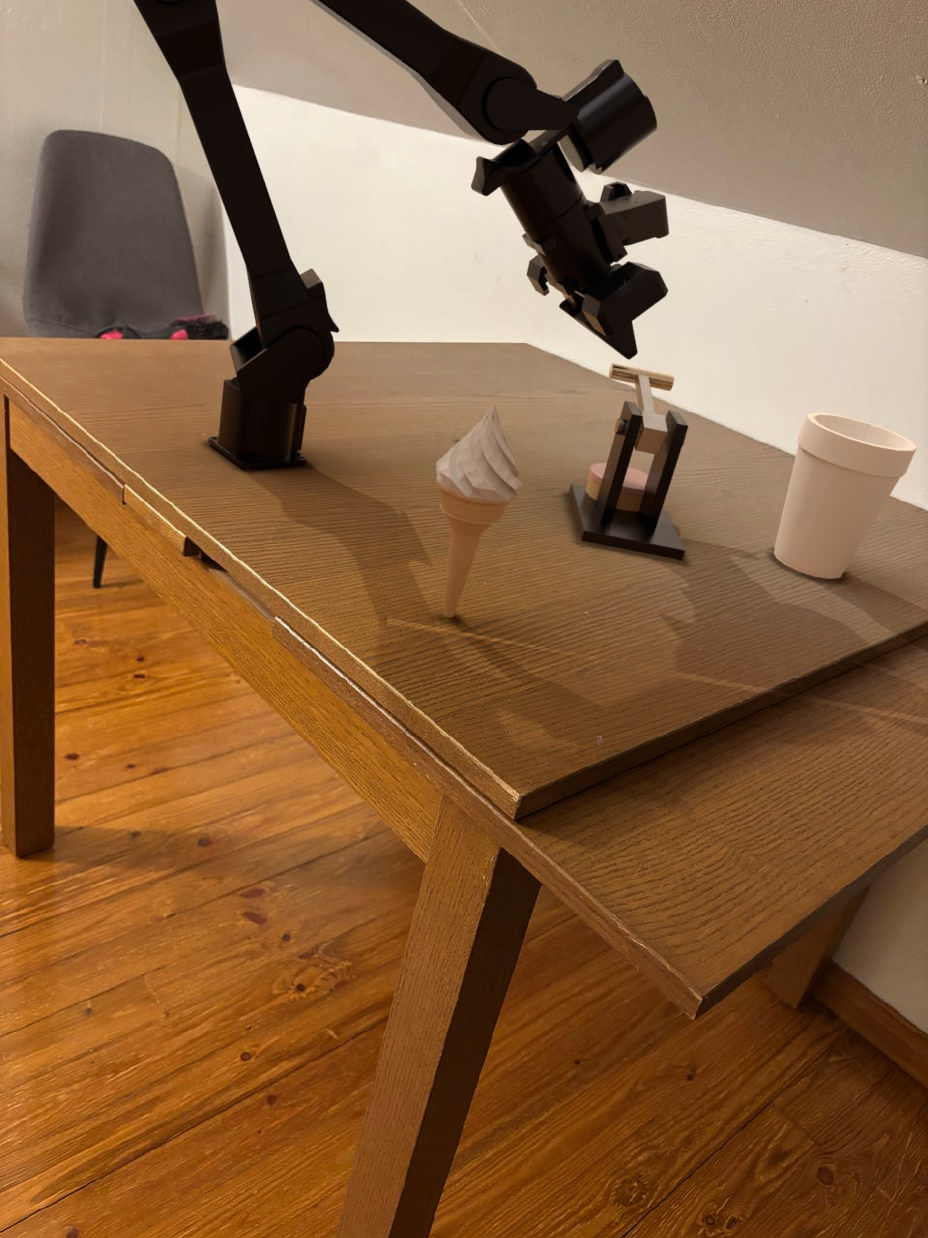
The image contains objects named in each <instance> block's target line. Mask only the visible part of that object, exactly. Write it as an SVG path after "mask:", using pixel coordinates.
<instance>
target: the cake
mask: <svg viewBox="0 0 928 1238" xmlns="http://www.w3.org/2000/svg"><path fill="white" fill-rule="evenodd" d="M606 464H607V462H598V463H597V462H596V463H593V464H592V465H590V469H589V472H588V475H589V476H588V479H587V483H586V485H585V486H586V492H587V494H588V495H589V496H590V497H592V498H593V499H595V500H596V499H597V496H598V492H599V489H600V485H601V482H602V478H603V475H604V471H605V468H606ZM648 475H649V473H646V472H644V471H641V470H639V469H637V468H634V467H630V466H628V469H627V473H626V476H625V479H624V483H623V486H622V490H621V493H620V496H619V500H618V503H617V506H616V508H618V509H622V510H627V511H639V508H640V505H641V501H642V498H643V496H644V493H645V484H646V481H647V478H648Z"/></svg>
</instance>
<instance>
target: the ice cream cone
mask: <svg viewBox="0 0 928 1238" xmlns="http://www.w3.org/2000/svg"><path fill="white" fill-rule="evenodd" d="M496 406H497V405H496V403H494V404H493V405H492V406H491V408H490V409H489V410H488V411H487V413H486V414H485V415H484V416H483V417H482V418H481V420H480V421H478V423H477V424H476V425H475V426H474V427H473V428H472V429H471V430H470V431H469V432H468V433H466V434H465V435H464V436H462V438H461V439H460V440H459V441H458V442H457V443H455V444H454V445H453V446H452V447H451V448H450V449H449V450H448V451H447V452H446V453H445V454H443V456H441V458H439V459H438V460H436V461H435V469H436V470H435V471H436V478H435V483H436V484H437V486H438V487H439V489H438V492H439V499H440V504H439V508H440V510H441V511H442V512H443V513H444V515H445V516H446V518H447V520H448V522H449V524H450V527H451V531H450V532H451V533H450V538H449V549H448V556H447V571H446V583H445V595H444V605H443V615H444V616H445V618H448V619H451V618H453V617H454V616H455V614H456V612H457V608H458V605H459V602H460V599H461V596H462V593H463V591H464V589H465V585H466V582H467V578H468V576H469V573H470V570H471V568H472V565H473V563H474V560H475V556H476V553H477V550H478V547H479V543H480V540H481V536H482V534H483V533H484V532H485V531H487V530H488V528H490V527H491V526H493V525H494V524H497V523H499V522H501V521H502V516H503V515H504V514H505V511H506V509H507V508H508V507H509V505H510V503H511V502H512V501H514V500H516V498H517V497H518V495H519V493H520V491H521V489H522V487H523V483H522V482H521V481H520V480H519V479H518V478H517V477H519V476H520V471H519V469H518V467H517V464H516V461H515V459H514V456H513V454H512V452H511V451H510V449H509V445H508V442H507V439H506V436H505V434H504V431H503V429H502V425H501V421H500V418H499V414H498V411H497V407H496Z"/></svg>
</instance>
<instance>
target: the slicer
mask: <svg viewBox="0 0 928 1238" xmlns="http://www.w3.org/2000/svg"><path fill="white" fill-rule="evenodd" d="M665 418H666V424H667V429H668V434H667V436H666V439H665V441H664V444H663V446H662V449H661V452H660V454H659V455H656V454H653V458H652V462H651V465H650V468H649V471H648V478H647V481H646V484H645V493H644V496H643V498H642V501H641V505H640V508H639V511H627V510H622V509H618V508H616V506H617V503H618V500H619V496H620V493H621V490H622V486H623V483H624V479H625V476H626V473H627V469H628V467H630V463H631V459H632V456H633V453H634V450H635V442H636V439H637V436H638V432H639V429H640V426H641V422H642V419H643V416H642V414H641V412H640V410H639V408H638V404H636V402H634V401H629V400H624V402H623V404H622V409H621V412H620V415H619V417H618V418H617V420H616V423H615V426H614V437H613V440H612V443H611V446H610V451H609V455H608V456H607V457H608V458H607V461H606V463H607V464H606V468H605V471H604V475H603V478H602V482H601V485H600V489H599V492H598V496H597V499H596V500H595V499H593V498H592V497H590V496H589V495H588V494H587V492H586V486H587V485H581V484H577V483H576V484H575V483H570V486H569V490H568V496H569V499H570V503H571V507H572V510H573V515H574V518H575V523H576V527H577V529H578V535H579V538H580V541H581V542H586V543H592V544H596V545H600V546H601V545H602V546H607V547H612V548H617V549H622V550H627V551H632V552H637V553H641V554H648V555H652V556H657V557H662V558H666V559H667V558H668V559H673V560H677V561H678V560H679V561H683V559H684V556H685V553H686V549H685V547H684V544H683V543H682V541H681V538H680V537H679V534H678V533H677V531H676V528H675V526H674V525H673V523H672V520H671V518H670V517H669V514H668V513H667V510H666V508H665V506H664V504H665V502H666V499H667V496H668V492H669V489H670V486H671V484H672V483H671V482H672V480H673V476H674V473H675V471H676V467H677V464H678V461H679V457H680V454H681V451H682V448H683V447H684V445H685V442H686V439H687V438H686V437H687V433H688V429H689V425H688V423H687V422H686V420H685V419H684V417H683V416H682V414H681V413H680V412H679V411H675V410H672V409H668V410H667V413H666V415H665Z"/></svg>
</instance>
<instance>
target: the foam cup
mask: <svg viewBox="0 0 928 1238" xmlns="http://www.w3.org/2000/svg"><path fill="white" fill-rule="evenodd" d="M798 434H799V435H798V437H797V440H796V442H797V443H798V445H797V449H796V454H795V458H794V462H793V466H792V470H791V474H790V479H789V484H788V488H787V491H786V497H785V501H784V505H783V511H782V513H781V518H780V522H779V526H778V531H777V534H776V535H777V536H776V538H775V544H774V547H773V549H774V550H773V554H774V556H775V557H776V559H777V560H778V561H779V562H781V563H782V564H783V565H785V566H786V567H788V568H791V569H793V570H795V571H796V572H799V573H803V574H805V575H809V576H812V577H814V578H820V579H821V578H822V579H828V580H830V579H841V578H842V576H843V574H844V572H845V571H846V570H847V568H848V566H849V565H850V563H851V561H852V559H854V556H855V554H856V553H857V551H858V550H859V548H860V546H861V545H862V543H863V541H864V540H865V537H866V536H867V535H868V533H869V531H870V529H871V528H872V526H873V524H875V521H876V519H877V518H878V516H879V514H880V513H881V511H882V509H883V507H884V506H885V505H886V503H887V501H888V500H889V498H890V496H891V494H892V493H893V491H894V489H895V488H896V486H897V484H898V482H899V481H900V479H901V478H902V477H903V476H904V475H905V474H906V473H907V471H908V469H909V467H910V464H911V463H912V459H913V457H914V455H915V453H916V451H917V448H918V446H917V445H916V444H915V443H914V442H913V441H912V440H911V439H909V438H907V437H905V436H903V435H901V434H899V433H897V432H895V431H893V430H890V429H887V428H885V427H882V426H880V425H876V424H874V423H871V422H868V421H864V420H861V419H857V418H853V417H850V416H844V415H840V414H834V413H829V412H811V413H809V414H807V415H805V418H804V422H803V424H802V427H801V429H800V431H799V433H798Z"/></svg>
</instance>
